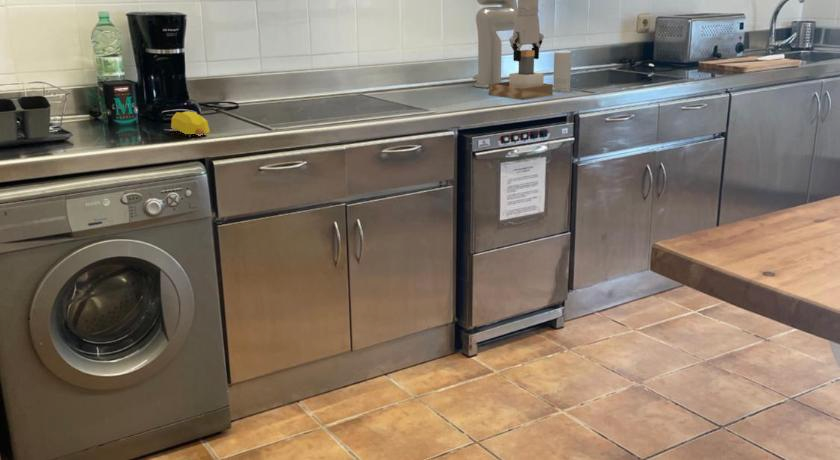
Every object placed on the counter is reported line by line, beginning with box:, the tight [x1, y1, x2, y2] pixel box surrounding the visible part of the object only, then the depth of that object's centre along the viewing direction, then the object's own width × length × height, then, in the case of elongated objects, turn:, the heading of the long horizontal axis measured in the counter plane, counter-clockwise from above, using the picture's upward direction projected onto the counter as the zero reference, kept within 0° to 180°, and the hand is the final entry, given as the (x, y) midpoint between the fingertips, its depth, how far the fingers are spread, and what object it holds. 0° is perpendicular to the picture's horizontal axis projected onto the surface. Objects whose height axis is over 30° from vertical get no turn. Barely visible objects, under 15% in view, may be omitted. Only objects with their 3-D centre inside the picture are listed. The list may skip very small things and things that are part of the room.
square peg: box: [518, 49, 535, 75], centre depth 307 cm, size 4×4×12 cm
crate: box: [488, 81, 554, 101], centre depth 310 cm, size 18×16×5 cm
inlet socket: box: [508, 72, 545, 88], centre depth 309 cm, size 9×9×8 cm
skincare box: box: [553, 50, 572, 93], centre depth 319 cm, size 8×7×16 cm
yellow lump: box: [170, 110, 211, 135], centre depth 248 cm, size 18×7×8 cm
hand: (526, 59), depth 307 cm, fingers open, 9 cm apart
